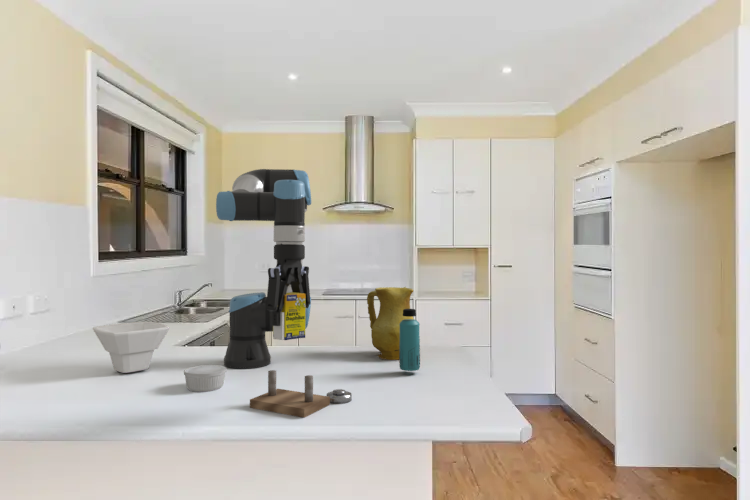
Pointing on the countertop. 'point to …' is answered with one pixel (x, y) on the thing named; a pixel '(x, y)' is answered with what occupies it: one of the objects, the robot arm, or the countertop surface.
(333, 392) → the metal knobbed disc
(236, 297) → the robot arm
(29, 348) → the countertop surface
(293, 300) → the supplement box
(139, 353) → the bowl
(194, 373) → the ramekin
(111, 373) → the countertop surface
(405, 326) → the beverage bottle
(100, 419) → the countertop surface
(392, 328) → the pitcher
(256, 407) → the peg rack
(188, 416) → the countertop surface
